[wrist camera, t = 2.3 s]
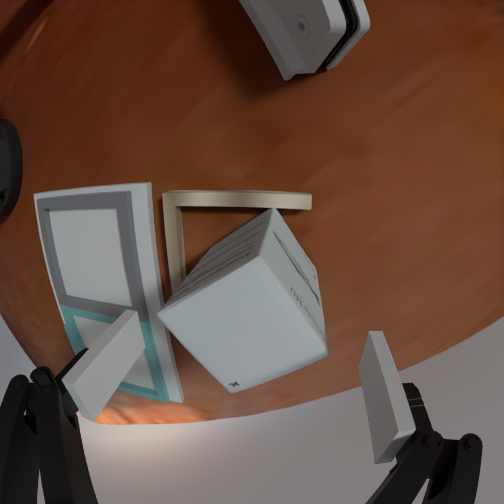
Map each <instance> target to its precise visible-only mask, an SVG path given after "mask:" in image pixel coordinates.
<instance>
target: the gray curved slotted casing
mask: <svg viewBox="0 0 504 504" xmlns="http://www.w3.org/2000/svg"><path fill="white" fill-rule="evenodd" d="M239 1H240V3H241V4H242V6H243V8H244V9H245V11H246V12H247V14H248V16H249V17H250V19H251V21H252V22H253V24H254V26H255V27H256V29H257V31H258V32H259V34H260V36H261V38H262V39H263V41H264V43H265V45H266V46H267V48H268V50H269V52H270V54H271V56H272V57H273V59H274V61H275V63H276V65H277V67H278V69H279V71H280V73H281V75H282V77H283V78H284V80H290V79H291V78H292V77H293V76H294V75H295V74H302V73H315V72H316V70H317V69H318V68H319V67H320V65H321V64H322V66H323V67H326V69H327V70H329V69H331V68H333V67H335V66H337V65H338V64H339V62H340V61H341V60H342V59H343V58H344V57H345V55H346V54H347V53H348V52H349V51H350V50H351V49H352V47H353V46H354V45H355V44H356V43H357V42H358V41H359V40H360V38H361V37H362V36H363V35H364V34H365V33H366V32H367V31H368V29H369V27H370V19H369V16H368V13H367V10H366V7H365V4H364V2H363V0H239Z"/></svg>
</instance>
